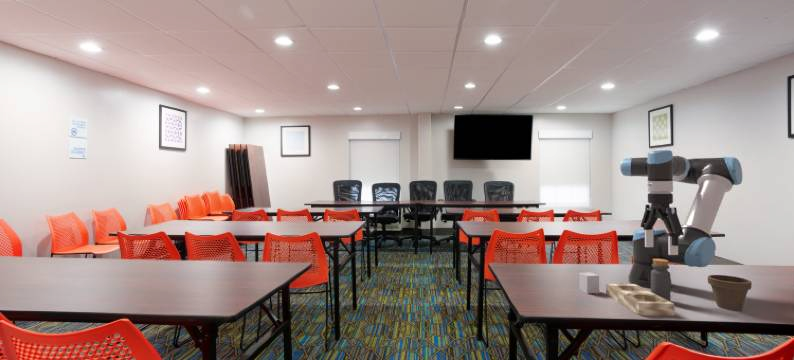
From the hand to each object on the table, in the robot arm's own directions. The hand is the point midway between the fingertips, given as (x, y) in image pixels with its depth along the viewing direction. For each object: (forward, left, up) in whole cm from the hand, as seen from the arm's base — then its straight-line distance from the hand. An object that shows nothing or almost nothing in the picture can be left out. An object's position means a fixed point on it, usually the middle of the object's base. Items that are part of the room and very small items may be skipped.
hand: (660, 250), depth 136 cm
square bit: (+21, -10, -18) cm, 30 cm away
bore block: (+11, +4, -18) cm, 21 cm away
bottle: (0, 0, -19) cm, 19 cm away
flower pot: (-19, +6, -19) cm, 27 cm away
